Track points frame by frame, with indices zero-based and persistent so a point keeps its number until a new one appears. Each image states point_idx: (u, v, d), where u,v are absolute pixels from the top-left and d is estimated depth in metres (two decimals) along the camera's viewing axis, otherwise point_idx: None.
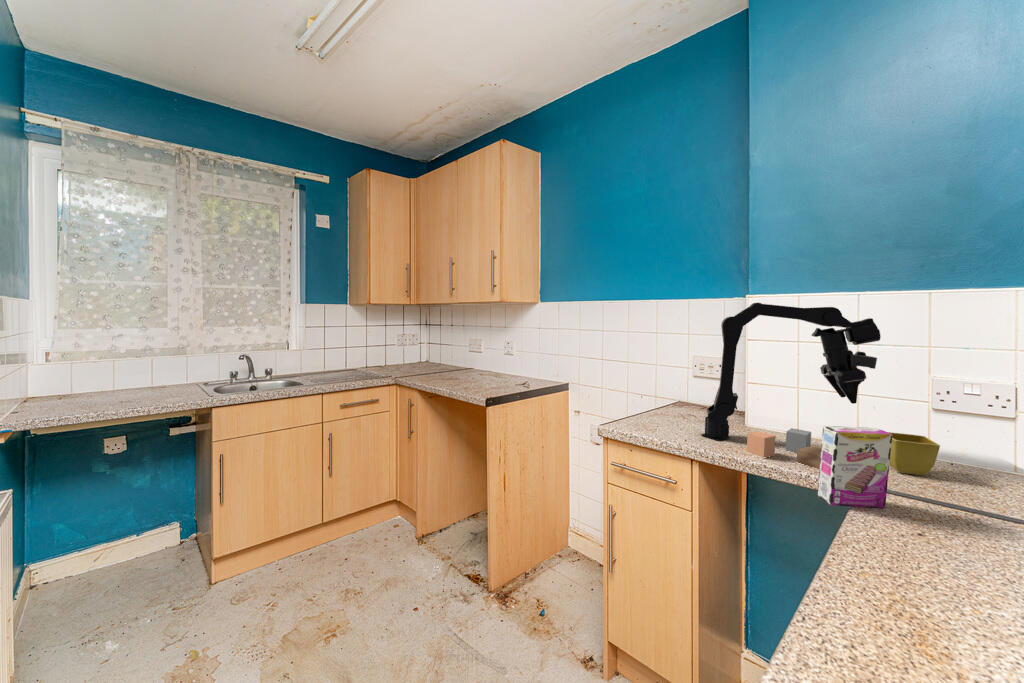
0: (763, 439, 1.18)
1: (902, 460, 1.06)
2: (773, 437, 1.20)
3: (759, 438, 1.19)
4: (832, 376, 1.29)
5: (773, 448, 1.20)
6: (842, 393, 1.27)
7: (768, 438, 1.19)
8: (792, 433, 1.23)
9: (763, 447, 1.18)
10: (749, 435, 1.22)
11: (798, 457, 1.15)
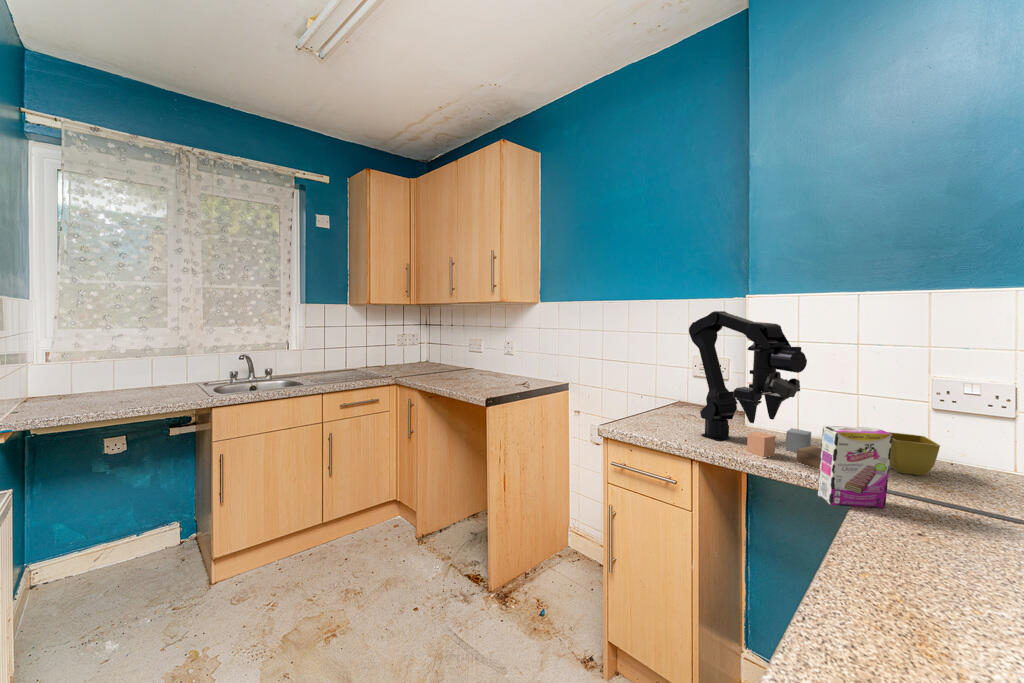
0: (763, 439, 1.18)
1: (902, 460, 1.06)
2: (773, 437, 1.20)
3: (759, 438, 1.19)
4: (769, 396, 1.24)
5: (773, 448, 1.20)
6: (771, 415, 1.23)
7: (768, 438, 1.19)
8: (792, 433, 1.23)
9: (763, 447, 1.18)
10: (749, 435, 1.22)
11: (798, 457, 1.15)
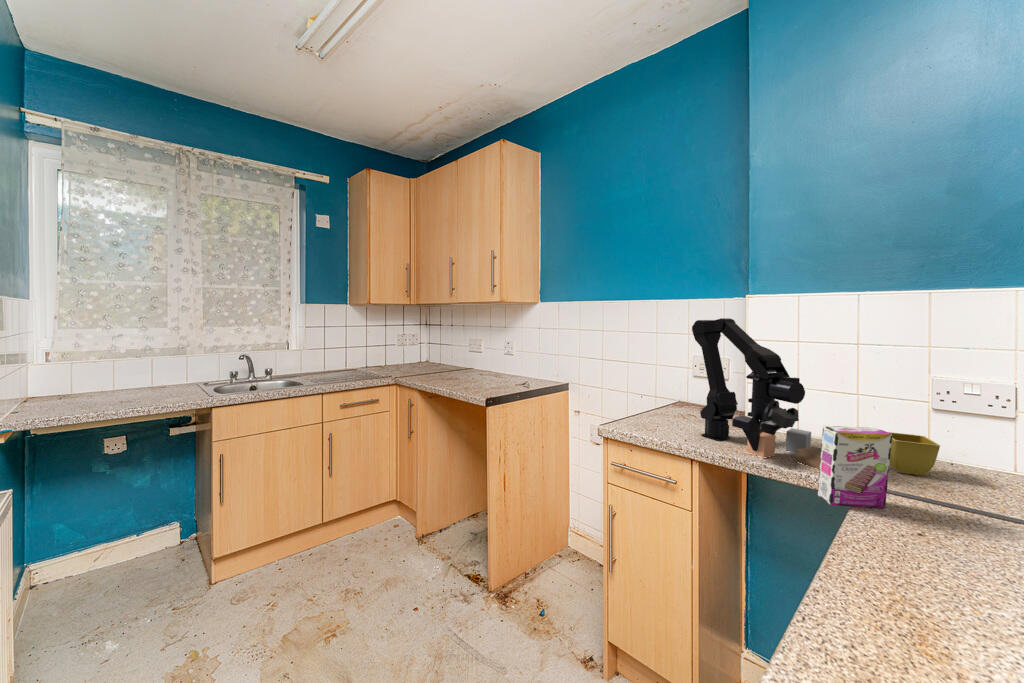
0: (763, 439, 1.18)
1: (902, 460, 1.06)
2: (773, 437, 1.20)
3: (759, 438, 1.19)
4: (764, 424, 1.24)
5: (773, 448, 1.20)
6: None
7: (768, 438, 1.19)
8: (792, 433, 1.23)
9: (763, 447, 1.18)
10: None
11: (798, 456, 1.15)
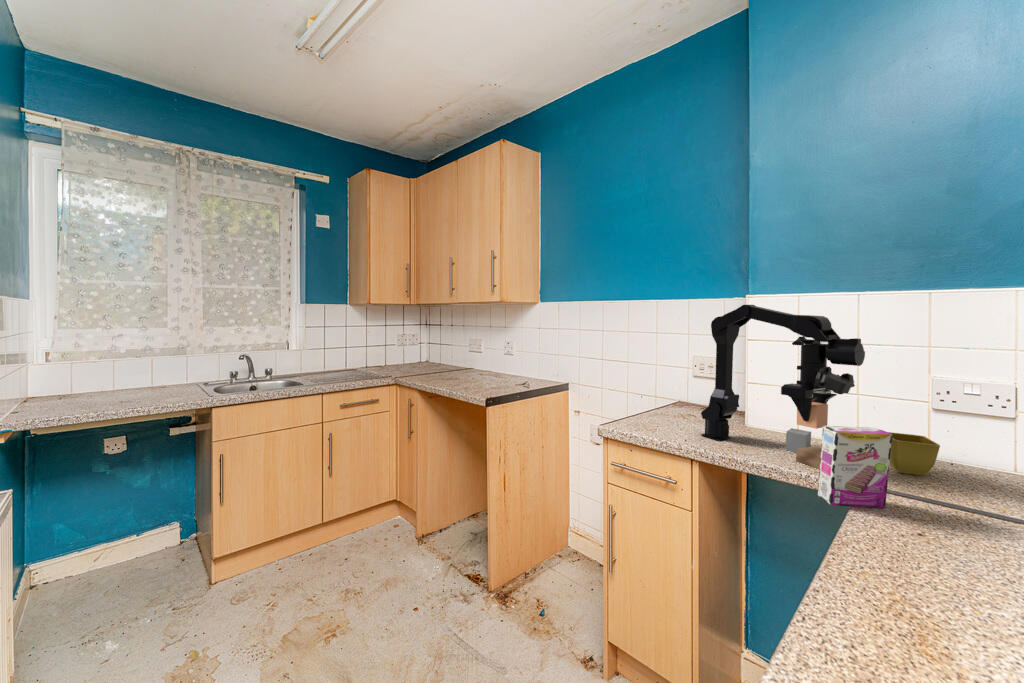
0: (815, 407, 1.10)
1: (902, 460, 1.06)
2: (826, 406, 1.12)
3: (811, 407, 1.11)
4: (814, 393, 1.16)
5: (826, 418, 1.12)
6: None
7: (821, 406, 1.11)
8: (792, 433, 1.23)
9: (816, 416, 1.10)
10: None
11: (798, 456, 1.15)
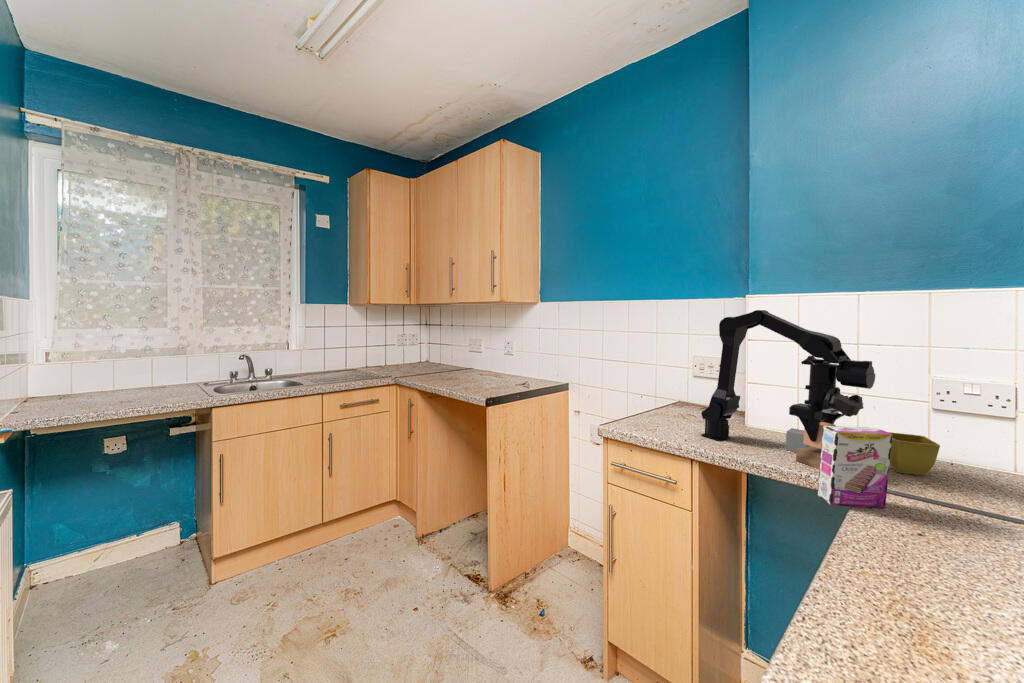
0: None
1: (902, 460, 1.06)
2: None
3: (819, 427, 1.11)
4: (821, 413, 1.15)
5: None
6: None
7: None
8: (792, 433, 1.23)
9: None
10: None
11: (797, 456, 1.15)
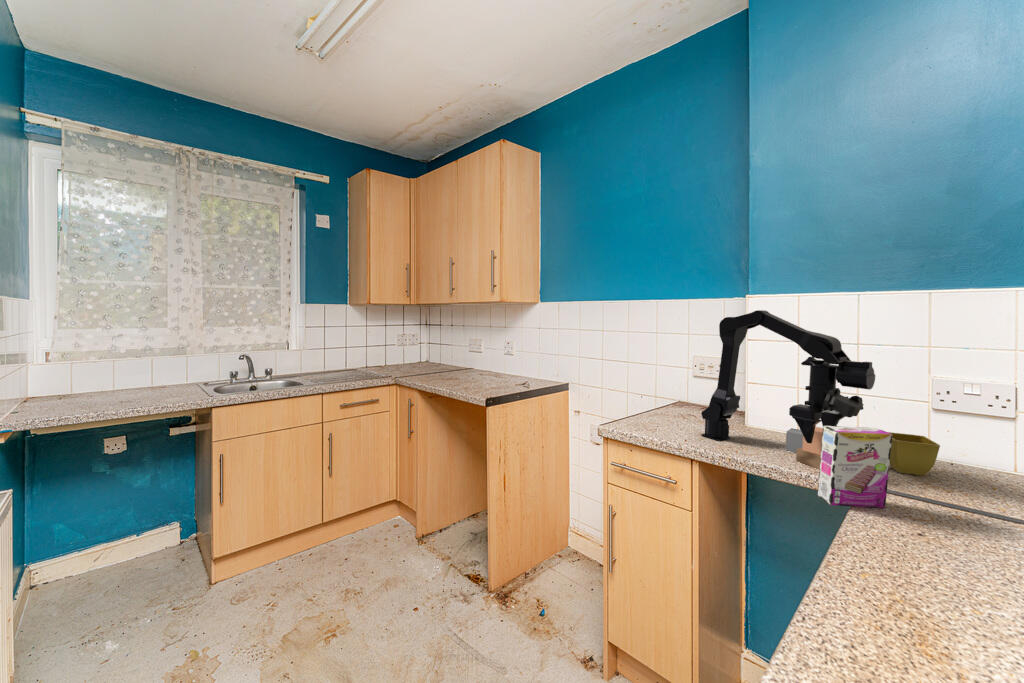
0: (822, 434, 1.10)
1: (902, 460, 1.06)
2: None
3: (818, 434, 1.11)
4: (825, 413, 1.16)
5: None
6: None
7: None
8: (792, 433, 1.23)
9: None
10: None
11: (797, 456, 1.15)
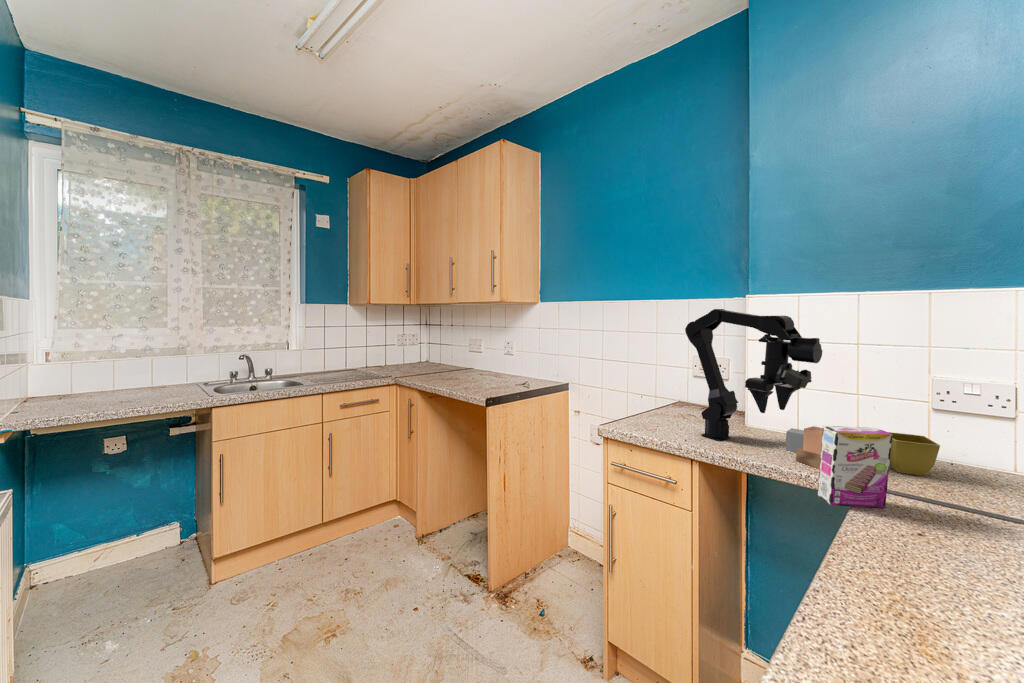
0: None
1: (902, 460, 1.06)
2: None
3: (818, 434, 1.11)
4: (780, 387, 1.26)
5: None
6: (781, 406, 1.25)
7: None
8: (792, 433, 1.23)
9: None
10: (806, 430, 1.14)
11: (797, 456, 1.15)
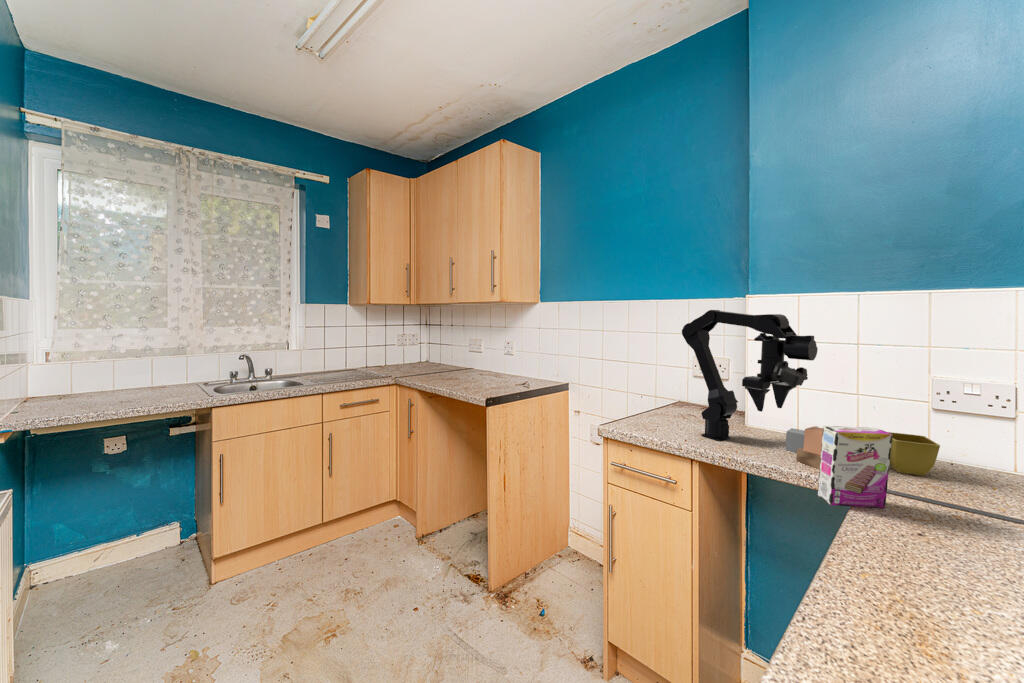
0: None
1: (902, 460, 1.06)
2: None
3: (819, 434, 1.11)
4: (777, 385, 1.27)
5: None
6: (779, 404, 1.26)
7: None
8: (792, 433, 1.23)
9: None
10: (806, 431, 1.13)
11: (798, 456, 1.15)
